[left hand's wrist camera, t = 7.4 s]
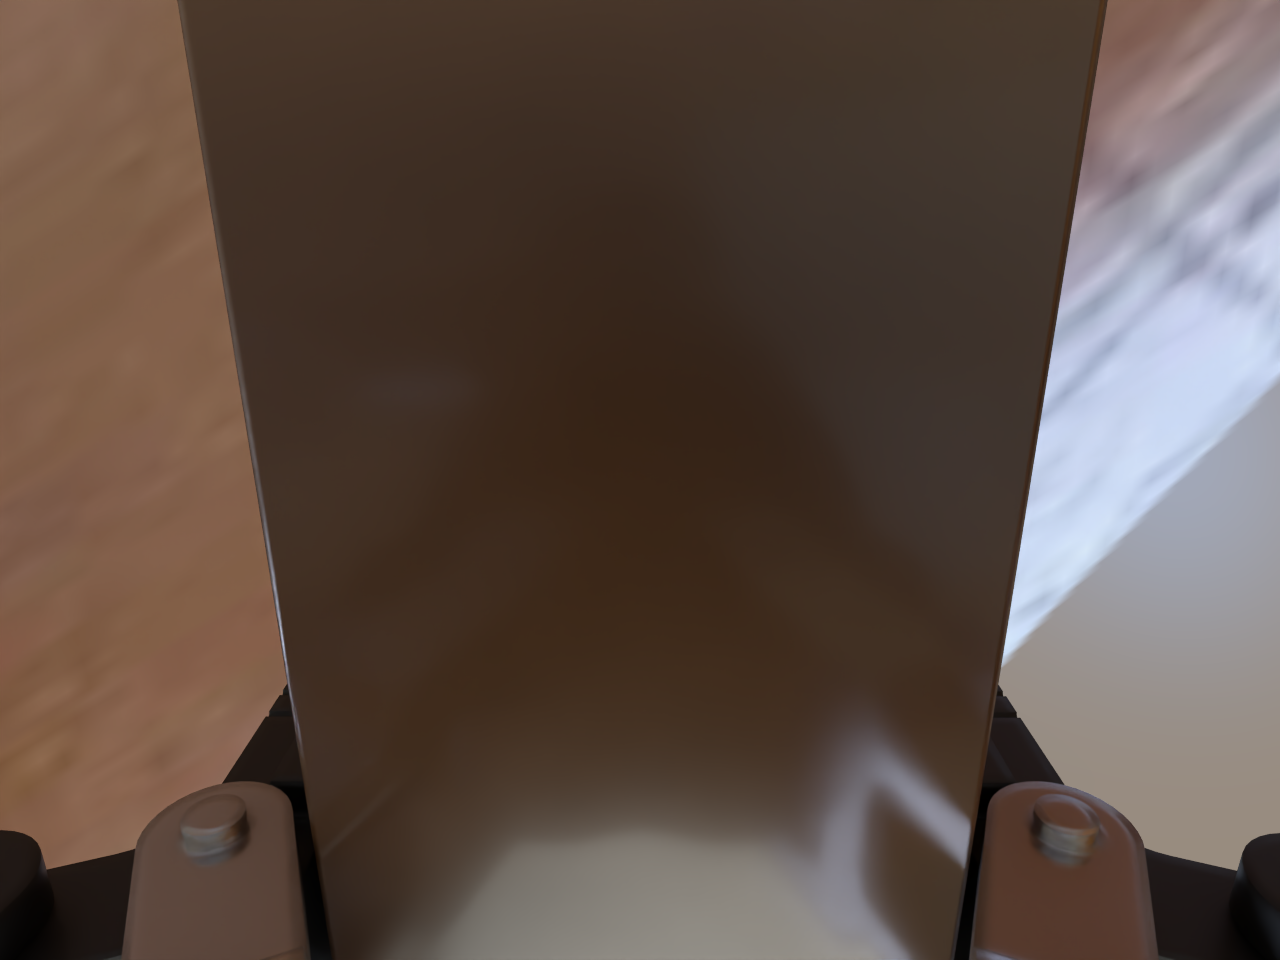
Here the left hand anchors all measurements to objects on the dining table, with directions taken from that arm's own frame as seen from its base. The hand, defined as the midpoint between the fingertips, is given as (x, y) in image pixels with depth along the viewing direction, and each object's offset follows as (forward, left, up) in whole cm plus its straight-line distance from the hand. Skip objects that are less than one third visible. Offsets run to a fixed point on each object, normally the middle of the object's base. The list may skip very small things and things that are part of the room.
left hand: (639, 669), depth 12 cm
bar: (-5, +9, -4) cm, 11 cm away
